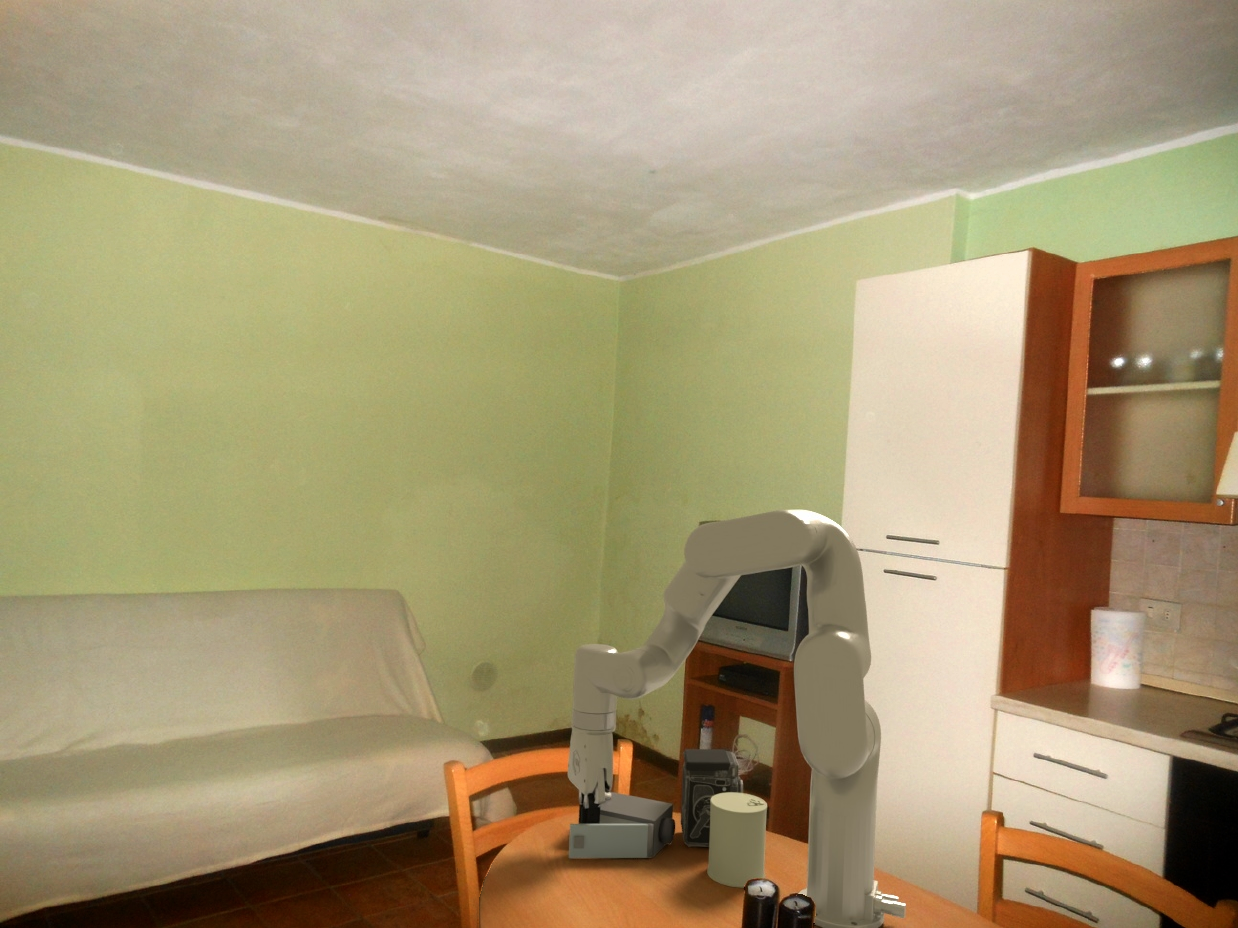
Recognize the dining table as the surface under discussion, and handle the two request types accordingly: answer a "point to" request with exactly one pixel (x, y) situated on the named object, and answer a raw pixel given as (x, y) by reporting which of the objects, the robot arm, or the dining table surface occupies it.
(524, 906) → the dining table surface
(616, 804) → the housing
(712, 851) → the can
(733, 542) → the robot arm
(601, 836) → the side door
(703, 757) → the camera
